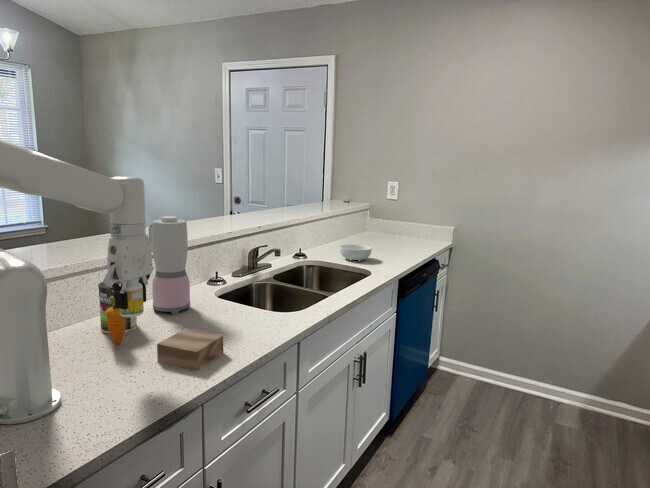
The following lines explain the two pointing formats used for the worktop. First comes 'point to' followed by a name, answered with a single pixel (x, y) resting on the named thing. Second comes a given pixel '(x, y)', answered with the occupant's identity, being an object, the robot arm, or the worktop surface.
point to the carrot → (115, 324)
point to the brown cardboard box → (190, 349)
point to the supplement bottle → (133, 299)
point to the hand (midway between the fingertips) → (131, 303)
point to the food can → (106, 304)
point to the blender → (170, 264)
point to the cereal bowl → (355, 251)
